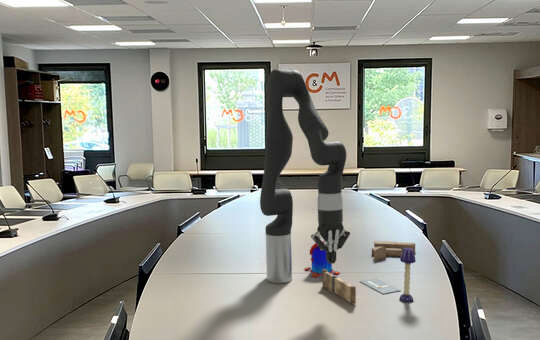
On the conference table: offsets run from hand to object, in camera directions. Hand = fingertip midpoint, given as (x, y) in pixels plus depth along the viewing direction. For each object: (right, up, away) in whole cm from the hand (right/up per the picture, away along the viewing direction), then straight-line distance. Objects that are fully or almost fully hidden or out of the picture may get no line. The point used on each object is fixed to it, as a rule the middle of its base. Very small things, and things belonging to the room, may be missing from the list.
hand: (331, 262), depth 148 cm
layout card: (+19, -11, +18) cm, 28 cm away
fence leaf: (+5, -12, +7) cm, 15 cm away
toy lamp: (+25, -13, +4) cm, 28 cm away
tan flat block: (+1, -12, +16) cm, 20 cm away
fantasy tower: (+1, -11, +35) cm, 37 cm away
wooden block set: (+33, -8, +54) cm, 64 cm away
